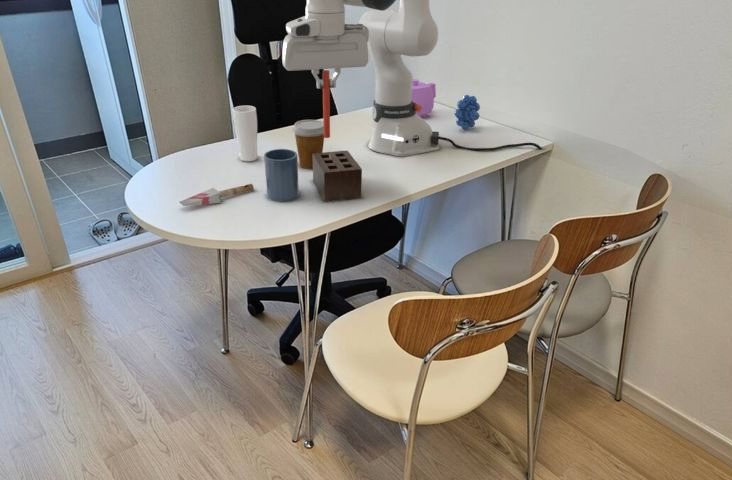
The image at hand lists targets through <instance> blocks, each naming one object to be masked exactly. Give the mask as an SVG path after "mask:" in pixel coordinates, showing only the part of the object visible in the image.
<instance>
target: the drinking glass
mask: <svg viewBox="0 0 732 480" xmlns="http://www.w3.org/2000/svg"><path fill="white" fill-rule="evenodd" d="M232 120H233V127H234V131H235V138H236V143H237V148H238V149H237V150H238V154H239V159H240V160H241V161H243V162H254V161H256V160H257V159H258V156H259V155H258V114H257V108H256V107H255V106H253V105H237V106H235V107H233V108H232Z"/></svg>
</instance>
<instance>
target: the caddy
mask: <svg viewBox="0 0 732 480" xmlns="http://www.w3.org/2000/svg"><path fill="white" fill-rule="evenodd" d="M312 157H313V168H312V182H313V184H314V186H315V187H316V189H317V191H318V193H319V195H320V197H321V198H322V200H323V201H324V203H328V202H329V203H330V202H337V201H347V200H355V199H356V200H357V199H362V185H363V184H362V181H363V178H362V177H363V168H362V167H361V166H360V164H359V163H358V162H357V161H356V159H355V158H354V156H352V155H351V153H350V152H349V150H338V151H335V150H334V151H327V152H322V153H313V154H312Z"/></svg>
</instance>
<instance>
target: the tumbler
mask: <svg viewBox="0 0 732 480" xmlns="http://www.w3.org/2000/svg"><path fill="white" fill-rule="evenodd" d="M263 160H264V162H263V164H264V173H265V174H264V175H265V185H266V186H265V188H266V189H265V190H266V196H267V198H268V199H269V200H271V201H275V202H281V203H283V202H291V201H293V200H295V199H297V198H298V197H299V192H300V190H299V189H300V188H299V187H300V186H299V165H298V162H299V160H298V152H296V151H294V150H292V149H288V148H275V149H271V150H268V151H266V152H265V153H264V154H263Z"/></svg>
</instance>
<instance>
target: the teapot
mask: <svg viewBox="0 0 732 480" xmlns="http://www.w3.org/2000/svg"><path fill="white" fill-rule="evenodd" d="M436 89H437V88H436V83H434V82H429V83H425V82H422V81H419V79H417V78H413V83H412V97H411V101H413V102H414V103H416V104H419V105H420V106H421V107H422V110H420V111H421V112H417V111H416V114H417V115H418V116H420V117H421V118H428V115H427V114H431V113H432V112H433V109H434V107H435V101H434V100H435V99H436V96H437V92H436V91H437V90H436Z"/></svg>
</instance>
